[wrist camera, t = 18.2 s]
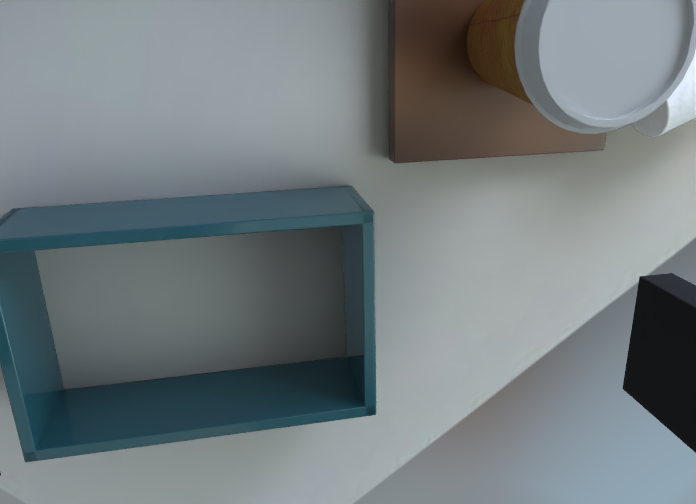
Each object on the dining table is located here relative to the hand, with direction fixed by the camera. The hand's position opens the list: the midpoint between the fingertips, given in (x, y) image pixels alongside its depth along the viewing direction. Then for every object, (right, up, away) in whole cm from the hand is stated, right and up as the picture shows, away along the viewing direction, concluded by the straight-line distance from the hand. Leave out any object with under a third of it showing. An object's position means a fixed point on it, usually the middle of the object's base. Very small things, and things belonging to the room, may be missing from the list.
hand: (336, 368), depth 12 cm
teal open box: (-10, -1, +31) cm, 33 cm away
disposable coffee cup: (+11, +17, +28) cm, 34 cm away
